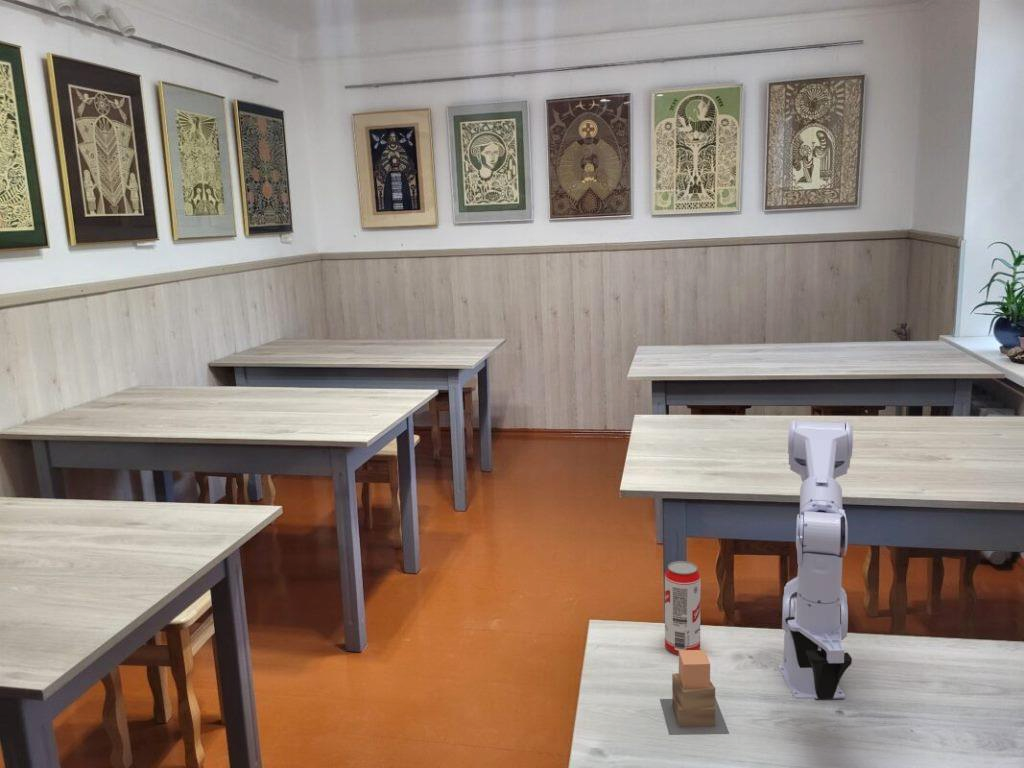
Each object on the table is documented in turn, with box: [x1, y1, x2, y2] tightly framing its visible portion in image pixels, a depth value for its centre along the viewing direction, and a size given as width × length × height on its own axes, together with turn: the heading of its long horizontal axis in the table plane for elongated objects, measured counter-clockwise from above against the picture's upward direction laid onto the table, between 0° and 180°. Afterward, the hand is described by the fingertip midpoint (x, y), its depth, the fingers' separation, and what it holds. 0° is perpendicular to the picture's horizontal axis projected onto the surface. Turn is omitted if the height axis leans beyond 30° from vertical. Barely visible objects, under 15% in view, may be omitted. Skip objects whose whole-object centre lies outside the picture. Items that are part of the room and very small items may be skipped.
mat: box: [659, 697, 730, 736], centre depth 121 cm, size 9×9×1 cm
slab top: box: [671, 672, 716, 710], centre depth 120 cm, size 5×5×3 cm
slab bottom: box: [671, 690, 715, 727], centre depth 121 cm, size 6×6×3 cm
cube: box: [678, 649, 711, 688], centre depth 120 cm, size 4×4×4 cm
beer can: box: [664, 560, 702, 656], centre depth 139 cm, size 6×6×16 cm
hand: (815, 681), depth 112 cm, fingers open, 7 cm apart
